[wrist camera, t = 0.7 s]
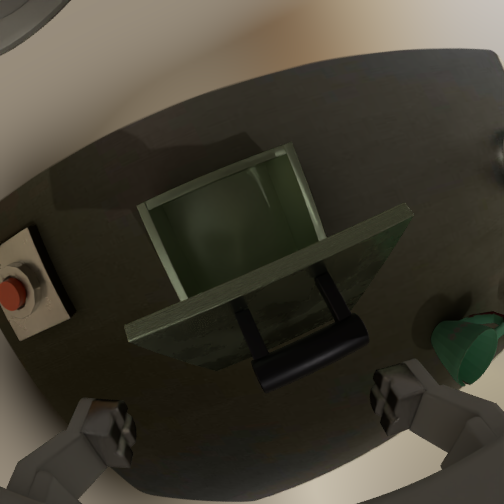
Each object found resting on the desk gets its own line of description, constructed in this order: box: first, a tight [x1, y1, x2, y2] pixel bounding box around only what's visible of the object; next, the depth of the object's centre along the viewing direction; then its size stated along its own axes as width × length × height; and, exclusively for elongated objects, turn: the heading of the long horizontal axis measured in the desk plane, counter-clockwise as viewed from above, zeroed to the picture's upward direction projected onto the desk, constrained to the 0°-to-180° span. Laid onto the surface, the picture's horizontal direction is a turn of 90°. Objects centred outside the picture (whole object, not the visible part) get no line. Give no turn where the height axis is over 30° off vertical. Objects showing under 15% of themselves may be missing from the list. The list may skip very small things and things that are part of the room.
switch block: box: [0, 225, 76, 341], centre depth 30 cm, size 12×10×4 cm
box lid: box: [124, 203, 414, 393], centre depth 19 cm, size 16×14×5 cm
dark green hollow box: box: [137, 142, 326, 301], centre depth 30 cm, size 16×14×10 cm
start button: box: [0, 278, 26, 311], centre depth 27 cm, size 4×4×2 cm
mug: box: [431, 311, 504, 386], centre depth 39 cm, size 15×10×10 cm
